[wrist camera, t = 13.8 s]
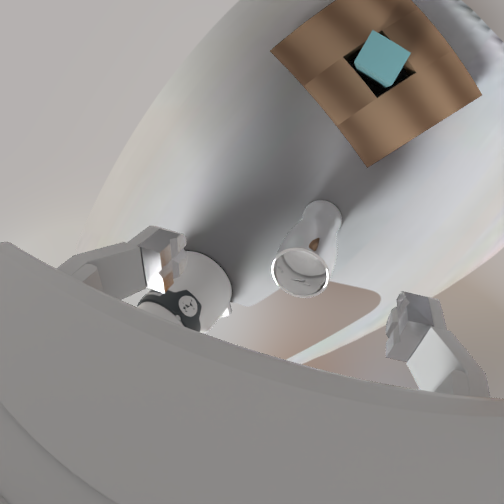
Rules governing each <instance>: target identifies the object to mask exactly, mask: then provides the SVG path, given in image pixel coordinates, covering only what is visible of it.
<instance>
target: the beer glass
mask: <svg viewBox="0 0 504 504" xmlns="http://www.w3.org/2000/svg"><path fill="white" fill-rule="evenodd" d="M341 224H342V216H341V213H340V211H339V209H338V208H337V207H336V206H335V205H334V204H332V203H331V202H329V201H325V200H316V201H313V202H311V203H310V204H308V205H307V206H306V208H305V209H304V211H303V215H302V220H301V221H300V222H299V223H297V224H296V225H295V226H294V227H293V228H292V229H291V230H290V231H289V232H288V233H287V235H286V236H285V238H284V239H283V241H282V243H281V245H280V247H279V249H278V251H277V254H276V256H275V258H274V260H273V262H272V268H271V271H272V276H273V278H274V280H275V282H276V284H277V285H278V286H279V287H280V288H281V289H282V290H283V291H285V292H286V293H288V294H290V295H292V296H295V297H300V298H310V297H314V296H317V295H319V294H321V293H322V292H323V291H324V290H325V289H326V288H327V286H328V284H329V280H330V278H331V276H332V273H333V270H334V267H335V264H336V260H337V254H338V243H337V232H338V231H339V229H340V227H341Z"/></svg>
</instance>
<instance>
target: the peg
mask: <svg viewBox="0 0 504 504" xmlns="http://www.w3.org/2000/svg"><path fill="white" fill-rule="evenodd" d="M410 54H411V53H410V52H409V51H407V50H406V49H404V48H402V47H401V46H399V45H398V44H396V43H394V42H393V41H391V40H389V39H388V38H386V37H384V36H383V35H381V34H379V33H377V32H375V31H374V30H372V32H371V34H370V35H369V37H368V39H367V40H366V42H365V44H364V46H363V47H362V49H361V51H360V53H359V54H358V56H357V58H356V60H355V61H354V63H355V66H356V69H357V72H358V73H359V74H361V75H363V76H365V77H366V78H368V79H370V80H371V81H373V82H374V83H376V84H378V85H379V86H381V87H382V88H386V87H388V86H391V85H392V84H393V83H394V81H395V79H396V78H397V76H398V74H399V72H400V71H401V69H402V67H403V66H404V64H405V62H406V61H407V59H408V57H409V55H410Z"/></svg>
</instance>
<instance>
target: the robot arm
mask: <svg viewBox="0 0 504 504" xmlns="http://www.w3.org/2000/svg"><path fill="white" fill-rule="evenodd" d="M186 245H187V243H186V236H185V235H184V234H182V233H178V232H175V231H171V230H168V229H164V228H161V227H157V226H149V227H147V228H146V229H145V230H143V231H142V232H141V233H139V234H138V235H137V236H135V237H134V238H133V239H131V240H130V241H129V242H127V243H125V242H123V243H119V244H115V245H111V246H107V247H103V248H100V249H96V250H92V251H88V252H85V253H81V254H77V255H74V256H72V257H71V258H70V259H68V260H67V261H66V262H65V263H63V264H62V265H60V266H59V267H58V268H57V269H56V268H54V267H52V266H50V265H48V264H46V263H44V262H43V261H41V260H39V259H37V258H35V257H33V256H32V255H30V254H28V253H27V252H25V251H23V250H21V249H20V248H18V247H16V246H15V245H13V244H12V243H9V242H1V243H0V504H504V399H503V398H502V399H501V398H490V392H489V387H488V382H487V377H486V373H485V372H484V371H483V370H482V368H481V367H480V366H479V365H478V363H477V362H476V361H475V360H474V359H473V357H472V356H471V355H470V353H469V352H468V351H467V350H466V349H465V348H464V346H463V345H462V344H461V343H460V341H459V340H458V339H457V338H456V337H455V336H454V334H453V333H452V332H451V331H449V330H447V328H446V323H445V319H444V315H443V312H442V308H441V304H440V301H439V300H438V299H435V298H430V297H425V296H421V295H416V294H412V293H408V292H404V291H402V292H401V293H400V294H399V296H398V298H397V307H395V308H393V309H392V310H391V313H390V315H389V317H388V321H387V324H386V335H387V336H388V338H389V339H388V341H387V343H386V358H390V359H394V360H398V361H403V362H407V363H406V364H407V366H408V368H409V369H410V371H411V373H412V375H413V377H414V379H415V381H416V383H417V385H418V387H419V389H420V390H418V389H411V388H405V387H400V386H394V385H388V384H382V383H378V382H373V381H368V380H363V379H358V378H354V377H350V376H345V375H341V374H337V373H333V372H328V371H324V370H320V369H317V368H313V367H309V366H305V365H301V364H298V363H294V362H291V361H287V360H284V359H280V358H277V357H273V356H270V355H267V354H263V353H260V352H257V351H254V350H250V349H247V348H244V347H241V346H238V345H235V344H232V343H229V342H226V341H223V340H220V339H217V338H214V337H212V336H209V335H206V334H203V333H204V332H206V333H207V332H208V331H210V329H211V328H212V327H213V326H214V324H215V323H216V322H217V320H218V319H219V318H222V317H227V316H229V315H230V314H231V312H232V310H231V305H230V299H231V295H232V289H231V284H230V281H229V279H228V277H227V275H226V273H225V272H224V271H223V269H222V268H221V267H220V266H219V265H218V264H217V263H216V262H215V261H213V260H212V259H210V258H209V257H207V256H205V255H203V254H201V253H198V252H193V251H185V250H184V249H183V248H184V247H185V246H186ZM146 287H148V288H149V290H148V292H147V294H145V295H144V296H143V297H142V299H141V300H140V302H139V303H138V305H137V307H135V306H133V305H130V304H128V303H126V302H123V301H121V300H122V299H124V298H126V297H128V296H130V295H133V294H135V293H137V292H139V291H141V290H143V289H145V288H146Z"/></svg>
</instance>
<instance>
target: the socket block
mask: <svg viewBox="0 0 504 504" xmlns="http://www.w3.org/2000/svg"><path fill="white" fill-rule="evenodd" d="M372 30H374V31H375V32H377V33H379V34H381V35H383V36H384V37H386V38H388V39H389V40H391V41H393V42H394V43H396V44H398V45H399V46H401V47H402V48H404V49H406V50H407V51H409V52H410V53H411V54H410V55H409V57H408V59H407V61H406V62H405V64H404V66H403V68H404V70H405V71H406V72H407V74H408V75H409V76H408V77H407V78H405V79H403V80H402V81H400V82H399V83H397V84H396V85H394V86H393V87H391V88H390V89H388V90H387V91H385V92H384V93H382V94H381V95H379V96H378V97H376V96H375V95H374V93H373V92H372V91H371V90H370V88H369V87H368V86H367V85H366V83H365V82H364V81H363V80H362V79H361V77H360V76H359V75H358V74H357V73H356V71H355V70H354V69H353V68H352V67H351V66H350V64H349V63H348V61H349V60H351V59H352V58H354V57H355V56H357V55H358V54H359V53H360V51H361V49H362V47H363V46H364V44H365V42H366V40H367V39H368V37H369V35H370V34H371V32H372ZM270 52H271V53H272V54H273V55H274V56H275V57H276V58H277V59H278V60H279V61H280V62H281V63H282V64H283V65H284V66H285V67H286V68H287V69H288V70H289V71H290V72H291V73H292V74H293V76H294V77H295V78H296V79H297V80H298V81H299V82H300V83H301V84H302V85H303V87H304V88H305V89H306V90H307V91H308V92H309V93H310V95H311V96H312V97H313V98H314V99H315V100H316V101H317V103H318V104H319V105H320V106H321V107H322V109H323V110H324V111H325V112H326V114H327V115H328V116H329V117H330V118H331V120H332V121H333V122H334V123H335V125H336V126H337V127H338V129H339V130H340V131H341V132H342V134H343V135H344V136H345V138H346V139H347V140H348V142H349V143H350V144H351V146H352V147H353V148H354V150H355V151H356V153H357V154H358V155H359V157H360V158H361V160H362V161H363V162H364V164H365V165H366V167H367V168H368V167H369V166H371V165H373V164H374V163H376V162H377V161H379V160H380V159H382V158H384V157H385V156H387V155H388V154H390V153H391V152H393V151H395V150H396V149H398V148H399V147H401V146H402V145H404V144H406V143H407V142H409V141H410V140H412V139H413V138H415V137H417V136H418V135H420V134H421V133H423V132H424V131H426V130H428V129H429V128H431V127H432V126H434V125H436V124H437V123H439V122H440V121H442V120H443V119H445V118H447V117H448V116H450V115H451V114H453V113H455V112H456V111H458V110H459V109H461V108H463V107H464V106H466V105H467V104H469V103H471V102H472V101H474V100H475V99H477V98H479V97H480V96H482V94H481V92H480V90H479V89H478V87H477V85H476V84H475V82H474V80H473V79H472V77H471V76H470V74H469V73H468V71H467V69H466V68H465V66H464V65H463V63H462V62H461V61H460V59H459V58H458V56H457V55H456V53H455V52H454V51H453V49H452V48H451V47H450V45H449V44H448V43H447V41H446V40H445V39H444V37H443V36H442V35H441V34H440V32H439V31H438V30H437V29H436V27H435V26H434V25H433V24H432V23H431V21H430V20H429V19H428V18H427V17H426V16H425V15H424V13H423V12H422V11H421V10H420V9H419V8H418V7H417V6H416V5H415V4H414V3H413V2H412V0H335V1H334V2H333V3H331V4H330V5H328V6H327V7H325V8H324V9H323V10H321V11H320V12H318V13H317V14H316V15H314V16H313V17H312V18H310V19H309V20H308V21H306V22H305V23H304V24H302V25H301V26H300V27H298V28H297V29H296V30H295V31H293V32H292V33H291V34H290V35H288V36H287V37H286V38H285V39H283V40H282V41H281V42H280V43H279V44H277V45H276V46H275V47H274V48H273V49H272V50H270Z"/></svg>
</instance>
